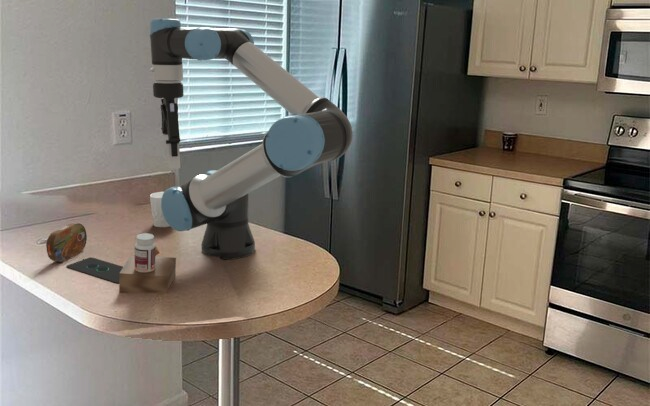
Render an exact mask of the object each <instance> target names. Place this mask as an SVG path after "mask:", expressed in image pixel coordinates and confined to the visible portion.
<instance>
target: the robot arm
mask: <svg viewBox="0 0 650 406" xmlns="http://www.w3.org/2000/svg"><path fill="white" fill-rule="evenodd" d="M149 25H150V26H149V27H150V28H149V30H150V31H149V38H150V40H149V41H150V55H151V56H150V57H151V64H152V66H151V68H149V72H150V73H152V80H153V81H155V82H153V83H152V93H153V97H155V98H158V99H160V102H161V104H160V114H161V133H162V146H163V147H162V149H163V159H165V160H167V159H168V169H169V170H176V169H177V170H178V169H181V153H180V143H181V137H180V126H179V115H178V113H179V107H178V104H177V102H175V99H180V98H183V97H184V83H183V82H182V81H183V80H184V69H183V59H185V60H197V61H211V60H226V61H228V63H230V64H231V65H232V66H234V67H235V68H236V69H237V70H239V71H240V72H241V73H242V74H243V75H245V76H246V77H247V78H248V79H249V80H250V81H251V82H253V84H255V85H256V86H257V87H258V88H260V89H261V91H263V92H264V93H265V94H267V95H268V96H269V97H270V98H271V99H272V100H273V101H275V102H276V103H277V104H278V105H280V107H282V108H283V109H284V110H285V111H287V113H289V115H285V116H283V117H282V118H280V119H278V120H276V121H275V122H274V123H272V125H271V126H270V127H269V129H268V131H267V132H266V133H265V135H264V136H263V139H262V142H261V144H259V145H257V146H255V147H254V148H253V149H251V150H249V151H247V152H246V153H244V154H242V155H241V156H239V157H238V158H236V159H234V160H232V161H231V162H229V163H228V164H226V165H225V166H222V167H220V168H219V169H218V170H214V169H213V170H208V171H206V172H205V174H202V173H201V174H199V175H196V176H195V177H194V176H193V177H192V178H191V179H190V180H188V181H186V182H184V183H182V184H180V185H176V186H171V187H170V188H167V189H165V190H164V191H163V192H164V193H163V195H162V199H161V208H162V213H163V215H164V218H165V220H166V222H167V223H168V224H169V226H170V228H172V229H173V230H175V231H177V232H185V231H191V230H193V229H196V228H198V227H201V226H204V225H206V228H205V231H204V235H203V238H202V241H201V253H202V254H204V255H205V254H206V255H209V256H211V257H216V258H217V257H218V258H219V259H221V260H232V259H233V260H234V259H240V258H244V257H248V256H250V255H252V254H253V253H255V251H256V243H255V239H254V236H253V234H252V231H251V228H250V224H249V193H251V192H253V191H255V190H257V189H259V188H260V187H263V186H264V185H266V184H268V183H269V182H271V181H274V180H275V179H277V178H280V176H281V177H284V178H293V177H295V176H297V175H299V174H301V173H303V172H304V171H306V170H309V169H310V168H313V167H314V166H317V165H320V164H323V163H326V162H331V161H335V160H337V159H339V158H341V157H342V156H343V155H345V154H346V152H348V150H349V149H350V147H351V144H352V142H353V135H354V133H353V126H352V125H351V122H350V119H349V117H347V115H346V114H345V113H344V112H343V111H342V110H341V109H340V108H339V107H338V106H337V105H336V104H335V103H334V102H332V101H331V100H329V98H327V97H325V96H324V97H319V96H318V95H317V94H316V93H314V91H312V90H311V89H309V88H308V87H307V86H306V85H304V84H303V83H302V82H300V80H298V79H297V78H296V77H294V75H293V74H291V73H290V72H289V71H288V70H287V69H285V68H284V67H282V65H280V64H279V63H277V61H275V60H274V59H273V58H271V57H270V56H269V55H268V54H266V52H264V51H263V50H261V49H260V48H259V47H258V46H256V45H255V40H254V38H253V35H252V34H251V32H249V31H248V30H245V29H242V28H235V27H233V28H223V27H222V28H218V27H217V28H216V27H214V28H213V27H205V26H204V27H202V26H196V27H183V26H182V25H181V21H180V20H179V19H178V18H177V19H176V18H152V19H151V20H150V23H149Z"/></svg>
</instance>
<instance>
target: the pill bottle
mask: <svg viewBox="0 0 650 406" xmlns="http://www.w3.org/2000/svg"><path fill="white" fill-rule="evenodd" d="M135 237H136V243H135V244H134V255H135V270H136V271H138V272H142V273H146V272H151V271H153V270H154V269H155V248H156V247H157V245H156V243H155V235H153V233H148V232H147V233H146V232H145V233H138V234H137V235H136V236H135Z"/></svg>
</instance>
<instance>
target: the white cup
mask: <svg viewBox="0 0 650 406" xmlns="http://www.w3.org/2000/svg"><path fill="white" fill-rule="evenodd" d="M164 192H165V191H156V192H153V193H151V194H150V195H149V199H150V200H149V201H150V210H151V214H152V215H151V216H152V221H153V226H154V227H156V228H169V227H170V226H169V224H168V223H167V222H166V220H165V218H164V215H163V213H162V208H161V199H162V195H163V193H164ZM170 228H171V227H170Z"/></svg>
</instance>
